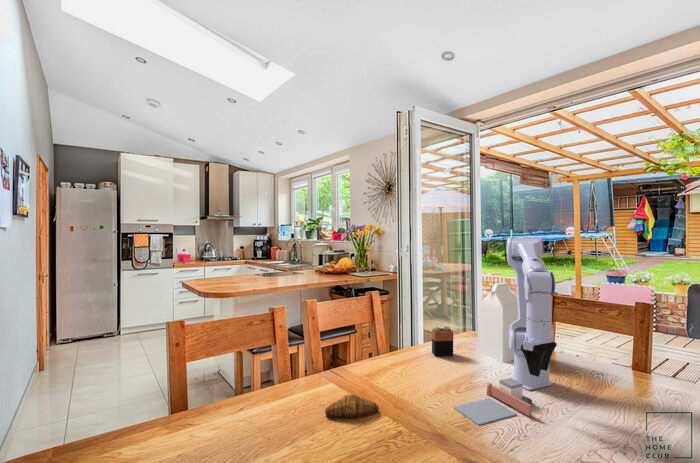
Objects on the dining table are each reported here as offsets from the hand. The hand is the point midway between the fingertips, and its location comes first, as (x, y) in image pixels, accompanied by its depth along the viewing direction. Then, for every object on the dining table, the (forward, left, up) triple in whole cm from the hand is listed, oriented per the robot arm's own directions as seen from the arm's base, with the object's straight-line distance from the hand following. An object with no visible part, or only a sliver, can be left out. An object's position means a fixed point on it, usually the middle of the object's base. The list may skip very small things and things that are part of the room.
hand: (538, 372), depth 92 cm
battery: (-2, -42, -10) cm, 44 cm away
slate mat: (+14, -4, -9) cm, 17 cm away
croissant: (+45, -16, -10) cm, 48 cm away
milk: (-22, -34, -10) cm, 42 cm away
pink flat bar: (+6, -5, -9) cm, 12 cm away
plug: (+3, -6, -10) cm, 12 cm away
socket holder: (+3, -6, -9) cm, 12 cm away
